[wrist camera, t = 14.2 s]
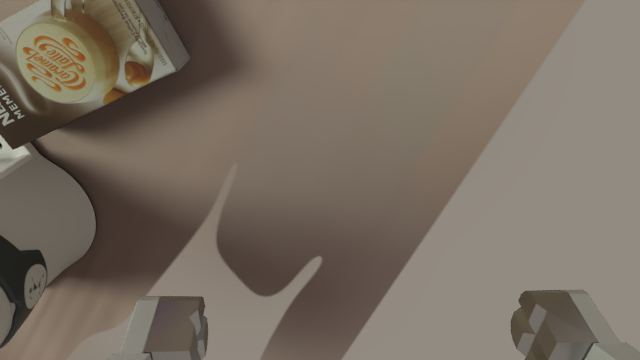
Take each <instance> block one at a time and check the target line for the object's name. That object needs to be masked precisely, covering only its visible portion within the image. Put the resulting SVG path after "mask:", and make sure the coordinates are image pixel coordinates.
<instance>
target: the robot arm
mask: <svg viewBox="0 0 640 360" xmlns="http://www.w3.org/2000/svg"><path fill="white" fill-rule="evenodd" d="M0 143H1V144H2V147H1V146H0V348H2V347H3V346H5V345H6V344H7V343H8V342H9V341H10V340H11V338H12V337H13V336H14V334H15V333H16V332H17V331H18V329H19V328H20V327H21V325H22V324H23V323H24V321H25V320H26V318H27V317H28V316H29V314H30V313H31V311H32V310H33V308H34V307H35V305H36V303H37V302H38V300H39V298H40V297H41V295H42V293H43V291H44V289H45V287H46V286H47V285H48V284H49V283H50V282H51V281H52V280H53V279H54V278H56V277H57V276H58V275H59V274H60V273H61V272H62V271H64V270H65V269H66V268H67V267H69V266H70V265H72V264H73V263H75V262H76V261H77V260H79V259H80V258H81V257H82V256H83V255H84V254H85V253H86V252H87V251H88V249H89V248H90V246H91V244H92V242H93V239H94V236H95V230H96V220H95V214H94V210H93V207H92V204H91V202H90V200H89V198H88V196H87V195H86V193H85V192H84V190H83V189H82V187H81V186H80V185H79V184H78V183H77V182H76V181H75V180H74V179H73V178H72V177H71V176H70V175H69V174H68V173H66V172H65V171H64V170H62V169H61V168H60V167H58V166H56V165H55V164H53V163H52V162H50V161H48V160H47V159H46V158H44V157H43V156H42V155H40V154H39V152H38V151H37V150H36V149H35V147H34V146H33V145H32V144H31V142H29V143H27V144H25V145H23V146H21V147H19V148H17V149H14V150H12V148H11V147H10V146H9V145H8V144H7V142H6V141H5V140H4V139H3V138H2V136H1V135H0ZM519 303H520V305H521V307H520V308H519V309H518V310H517V311H515V312H514V313H513V316H512V319H511V334H512V339H513V341H514V344H515V346H516V349H518V350H519V351H520V352H521V353H523V354H524V355H525V356H526V358H525V360H640V352H639V351H638V350H636V349H635V348H633V347H632V346H631V345H629V344H628V343H620V341H619V340H618V338H617V337H616V335H615V334H614V332H613V331H612V329H611V328H610V326H609V325H608V323H607V322H606V320H605V319H604V317H603V316H602V314H601V313H600V311H599V310H598V308H597V307H596V305H595V304H594V302H593V301H592V299H591V298H590V296H589V294H588V293H587V292H585V291H584V290H542V291H525V292H523V293H522V294H521V296H520V299H519ZM204 308H205V304H204V299H203V297H188V296H184V297H183V296H160V297H159V296H155V297H154V296H141V297H140V298H139V299H138V301H137V302H136V305H135V308H134V311H133V314H132V317H131V320H130V323H129V326H128V329H127V332H126V335H125V338H124V341H123V344H122V347H121V350H120V353H119V354H112V355H111V356H110V357H109V358H108V359H107V360H202V359H203V358H204V357H205V356H206V350H207V340H208V323H207V318H206V317H205V316H204V315H203V314H204Z"/></svg>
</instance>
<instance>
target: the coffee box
mask: <svg viewBox="0 0 640 360" xmlns="http://www.w3.org/2000/svg"><path fill="white" fill-rule="evenodd" d="M189 59H190V55H189V54H188V52H187V50H186V48H185V47H184V45H183V43H182V41H181V40H180V38H179V36H178V35H177V33H176V31H175V29H174V28H173V26H172V24H171V22H170V21H169V19H168V17H167V16H166V14H165V12H164V10H163V9H162V7H161V5H160V3H159V2H158V0H40V1H38V2H36V3H34V4H32V5H30V6H29V7H27V8H25V9H23V10H21V11H19V12H18V13H16V14H14V15H12V16H10V17H8V18H6V19H4V20H3V21H1V22H0V135H1V136H2V138H3V139H4V140H5V141H6V142H7V144H8V145H9V146H10V147H11V148H12V150H14V149H17V148H19V147H21V146H23V145H25V144H27V143H29V142H31V141H33V140H35V139H37V138H39V137H41V136H43V135H45V134H48V133H50V132H52V131H54V130H56V129H58V128H60V127H62V126H64V125H66V124H68V123H70V122H72V121H74V120H76V119H78V118H80V117H82V116H84V115H86V114H88V113H90V112H93V111H95V110H97V109H99V108H101V107H103V106H105V105H107V104H109V103H111V102H113V101H115V100H117V99H119V98H121V97H123V96H126V95H128V94H130V93H131V92H133V91H135V90H137V89H139V88H141V87H143V86H145V85H147V84H149V83H151V82H153V81H155V80H158V79H160V78H162V77H164V76H167V75H169V74H172V73H174V72H177V71H179V70H180V69H181V68H182V67H183V66H184V65H185V64H186V63H187V61H188V60H189Z"/></svg>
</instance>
